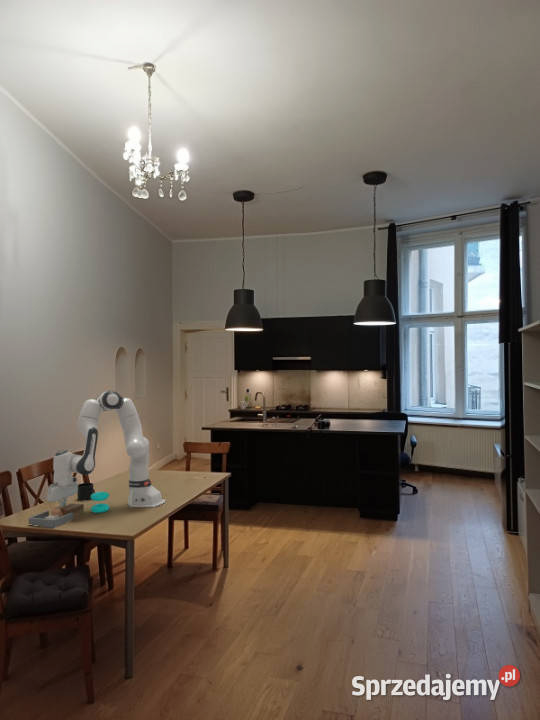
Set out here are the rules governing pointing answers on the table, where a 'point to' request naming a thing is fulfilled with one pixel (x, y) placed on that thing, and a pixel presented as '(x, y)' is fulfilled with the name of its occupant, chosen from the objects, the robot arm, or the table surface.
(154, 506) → the robot arm
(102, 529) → the table surface
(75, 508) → the bench
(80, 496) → the mug
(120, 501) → the table surface
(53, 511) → the tile rear
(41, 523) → the tray
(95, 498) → the donuts
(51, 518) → the tile front
